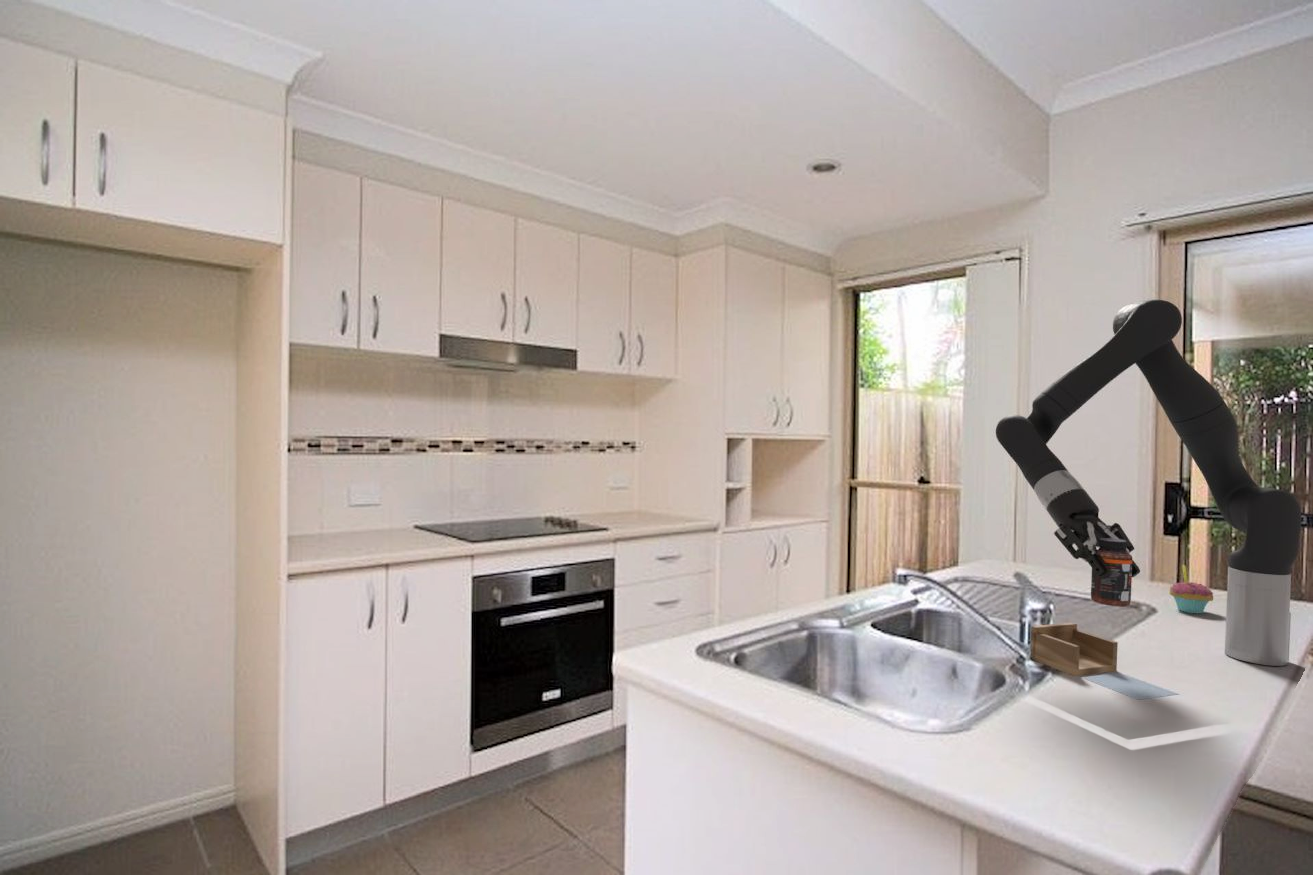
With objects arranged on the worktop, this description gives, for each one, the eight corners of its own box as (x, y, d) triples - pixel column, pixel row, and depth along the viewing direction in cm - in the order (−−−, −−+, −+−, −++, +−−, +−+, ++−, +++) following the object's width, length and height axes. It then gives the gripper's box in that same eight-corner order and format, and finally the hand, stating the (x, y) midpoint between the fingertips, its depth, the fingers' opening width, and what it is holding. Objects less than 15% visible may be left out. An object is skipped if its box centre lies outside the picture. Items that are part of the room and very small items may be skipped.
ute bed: (1070, 659, 130) (1072, 622, 130) (1116, 675, 122) (1117, 636, 122) (1030, 663, 127) (1031, 626, 127) (1073, 681, 119) (1075, 640, 119)
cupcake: (1180, 614, 166) (1182, 564, 166) (1161, 605, 175) (1163, 558, 175) (1220, 617, 165) (1222, 567, 165) (1199, 607, 173) (1201, 560, 173)
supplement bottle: (1137, 608, 119) (1139, 543, 118) (1098, 605, 120) (1101, 541, 120) (1121, 600, 124) (1124, 537, 124) (1085, 597, 126) (1087, 535, 125)
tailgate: (1119, 672, 121) (1178, 693, 111) (1119, 678, 121) (1178, 700, 111) (1081, 677, 118) (1138, 699, 109) (1080, 682, 118) (1138, 705, 109)
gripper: (1047, 487, 127) (1105, 565, 116) (1107, 487, 131) (1167, 562, 120) (1023, 512, 132) (1075, 589, 121) (1081, 511, 136) (1136, 585, 125)
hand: (1121, 575), depth 120 cm, fingers closed on supplement bottle, 6 cm apart
